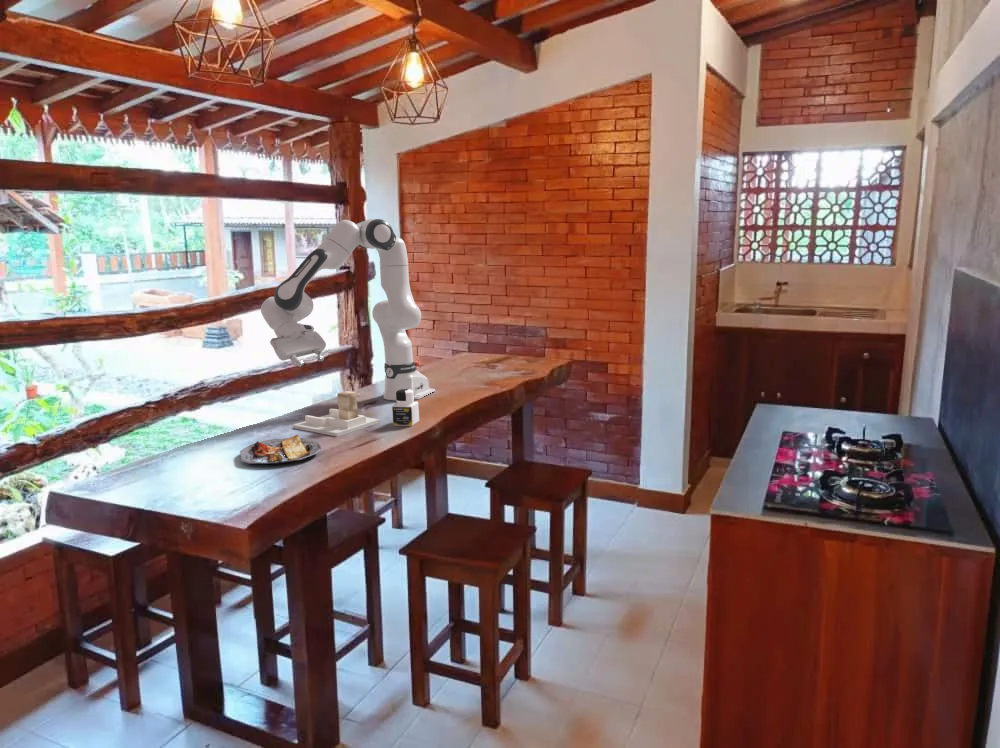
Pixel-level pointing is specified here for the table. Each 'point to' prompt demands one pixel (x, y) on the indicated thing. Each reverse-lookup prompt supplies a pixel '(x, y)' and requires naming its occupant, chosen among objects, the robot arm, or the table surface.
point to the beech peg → (347, 405)
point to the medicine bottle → (405, 409)
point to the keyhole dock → (334, 424)
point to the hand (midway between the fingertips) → (312, 362)
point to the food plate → (280, 450)
